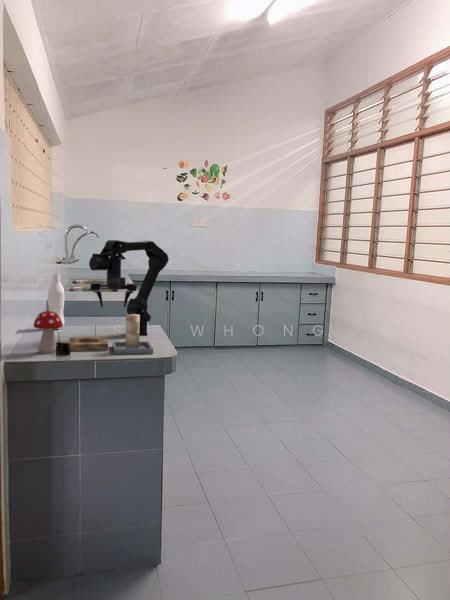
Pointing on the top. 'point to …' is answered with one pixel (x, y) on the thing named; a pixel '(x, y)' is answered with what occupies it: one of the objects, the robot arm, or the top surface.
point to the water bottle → (56, 297)
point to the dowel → (132, 331)
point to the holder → (88, 344)
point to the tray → (121, 349)
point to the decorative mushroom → (47, 330)
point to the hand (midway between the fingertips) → (113, 307)
